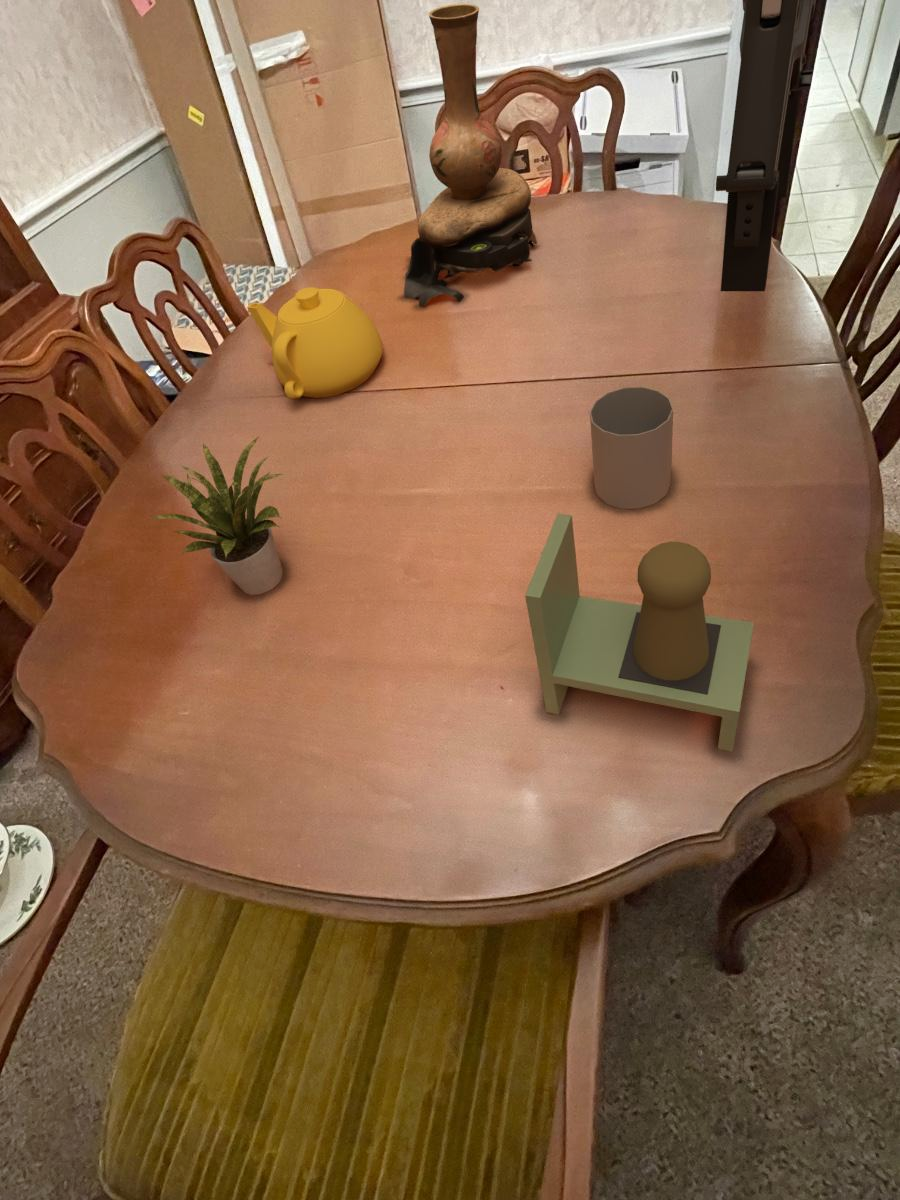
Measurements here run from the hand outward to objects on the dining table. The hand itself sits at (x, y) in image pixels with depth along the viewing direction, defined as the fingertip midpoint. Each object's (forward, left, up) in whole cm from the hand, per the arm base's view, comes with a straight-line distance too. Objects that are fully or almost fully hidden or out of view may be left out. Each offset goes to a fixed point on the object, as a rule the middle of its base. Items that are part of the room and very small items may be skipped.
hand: (755, 239), depth 53 cm
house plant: (+48, +12, -32) cm, 59 cm away
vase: (+49, -60, -32) cm, 84 cm away
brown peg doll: (+2, +18, -26) cm, 31 cm away
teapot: (+62, -27, -32) cm, 75 cm away
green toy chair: (+4, +18, -32) cm, 37 cm away
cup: (+11, -9, -32) cm, 35 cm away
